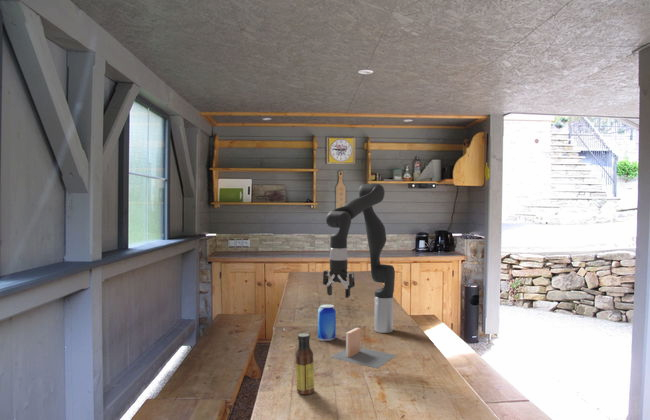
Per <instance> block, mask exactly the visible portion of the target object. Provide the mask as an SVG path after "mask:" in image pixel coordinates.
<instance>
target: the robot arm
mask: <svg viewBox="0 0 650 420" xmlns="http://www.w3.org/2000/svg"><path fill="white" fill-rule="evenodd" d="M358 196H359V197H357V198H353V199H351V200H349V201H348V202H347V203H345V204H344V205H342V206H340V207H337V208H335V209H332V210H330V211H329V212H328V213H327V215H326V218H325V222H326V224H327V226H328V227H330V228H334V229H335V228H336V229H338V231H337V232H335V233H332V234H331V235H330V238H329V239H330V241H329V242H330V243H329V244H330V245H329V247H330V249H329V270H328V269H327V270H324V271H323V273H322V275H323V276H322V277H323V279H322V284H323V285H324V286H326V293H327V295H328V296H331V295H333V286H332V285H333V284H334V283H340V284H342V285H343V286H344V288H345V291H344V292H345V293H344V294H345V298H346V299H347V298H349V297H350V296H351V289H352V288H355V287H356V286H355V284H356V282H355V273H354V272H350V273H349V272H348V236H349V233H350V232H349V231H350V228H351V223H352V220H353V219H354V218H356V217H357V216H358V215H359V214H361V213H362V214H363V219H364V225H365V233H366V238H367V244H368V249H369V258H370V259H369V260H370V262H369V263H370V274H371V278H372V280H373V282H375V283H381V284H383V287H382V288H379V289H376V290H375V291H374V312H373V313H374V318H373V319H374V321H373V322H374V331H375V332H376V333H381V334H388V333H392V332H393V331H394V292H395V281H396V280H395V279H396V271H395V268H394V266H393V264H392V265H391V264H383V263H381V260H380V257H381V253H382V251H383V250H384V247H385V245H386V242H387V233H386V227H385V225H384V223H383V222H382V221H381V219H380V218H379V216H378V215H377V214H376V212H375V211H374V207H373V206H375V205H377V204H379V203H382V202H383V200H384V197H385V188H384V186H383V185H382V184H379V183H363V184H361V185H360V186H359V189H358ZM329 277H330V278H329Z"/></svg>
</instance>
